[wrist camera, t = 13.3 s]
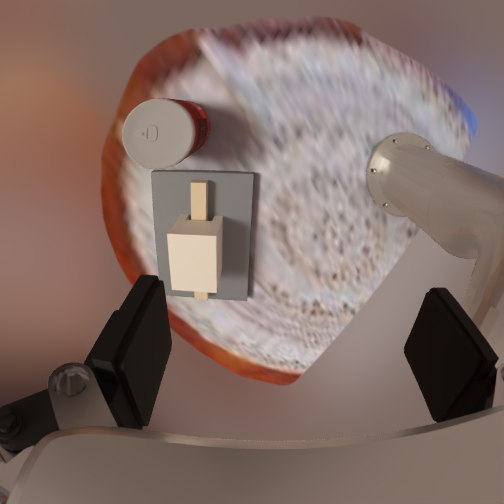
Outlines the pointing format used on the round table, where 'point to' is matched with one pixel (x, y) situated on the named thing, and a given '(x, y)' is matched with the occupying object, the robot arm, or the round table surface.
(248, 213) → the mount board
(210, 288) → the cabinet block
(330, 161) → the round table surface
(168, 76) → the round table surface
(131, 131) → the canned food
